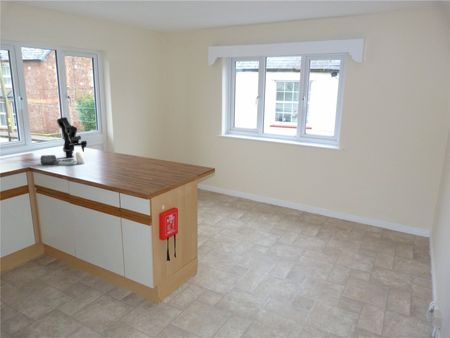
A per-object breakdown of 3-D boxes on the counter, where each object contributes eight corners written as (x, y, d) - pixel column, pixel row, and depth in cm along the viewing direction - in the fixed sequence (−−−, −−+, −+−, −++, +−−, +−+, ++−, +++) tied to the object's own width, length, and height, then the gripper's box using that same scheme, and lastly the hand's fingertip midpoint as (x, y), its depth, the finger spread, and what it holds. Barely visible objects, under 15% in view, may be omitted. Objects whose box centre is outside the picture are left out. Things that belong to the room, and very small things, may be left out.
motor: (45, 162, 300) (44, 154, 298) (76, 161, 303) (74, 153, 301) (40, 166, 288) (39, 157, 286) (71, 165, 292) (70, 156, 290)
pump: (77, 163, 299) (76, 152, 296) (85, 162, 300) (83, 151, 297) (75, 164, 293) (74, 153, 290) (83, 164, 294) (81, 153, 291)
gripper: (62, 134, 290) (68, 148, 284) (85, 131, 301) (90, 145, 296) (61, 141, 298) (66, 155, 292) (83, 139, 309) (88, 153, 303)
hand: (78, 152), depth 296 cm, fingers open, 9 cm apart
